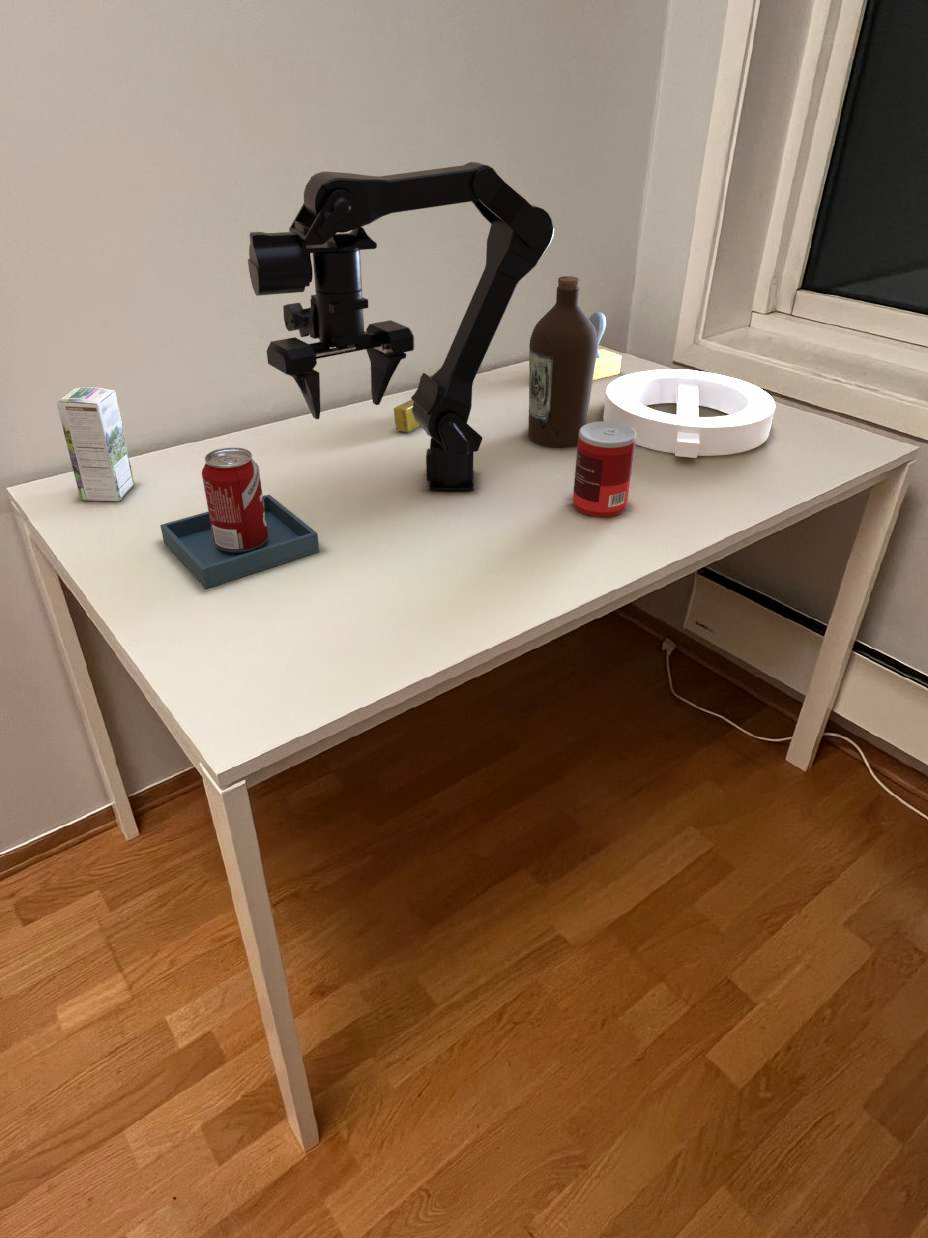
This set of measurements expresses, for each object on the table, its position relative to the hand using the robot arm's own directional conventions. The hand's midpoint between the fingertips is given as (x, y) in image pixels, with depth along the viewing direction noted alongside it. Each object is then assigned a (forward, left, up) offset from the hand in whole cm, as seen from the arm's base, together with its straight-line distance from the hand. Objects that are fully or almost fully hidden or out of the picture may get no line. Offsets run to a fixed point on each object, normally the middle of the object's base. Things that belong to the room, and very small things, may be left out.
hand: (346, 411), depth 112 cm
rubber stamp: (-41, -56, -13) cm, 71 cm away
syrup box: (+35, -1, -13) cm, 37 cm away
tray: (+13, +14, -13) cm, 23 cm away
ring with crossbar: (-54, -31, -13) cm, 64 cm away
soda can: (+13, +14, -13) cm, 23 cm away
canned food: (-35, +1, -13) cm, 37 cm away
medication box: (-8, -30, -13) cm, 34 cm away
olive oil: (-31, -24, -13) cm, 41 cm away
